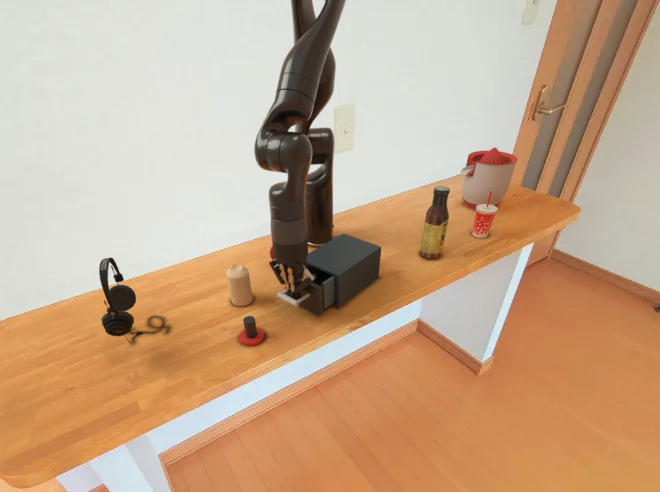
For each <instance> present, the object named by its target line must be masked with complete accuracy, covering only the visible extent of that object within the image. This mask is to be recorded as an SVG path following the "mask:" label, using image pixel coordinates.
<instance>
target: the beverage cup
mask: <svg viewBox="0 0 660 492" xmlns="http://www.w3.org/2000/svg"><path fill="white" fill-rule="evenodd" d="M491 194H492V191H490V195H489V199H488V202H487V204H479V205H477V206H476V210H475V215H474V221H473V226H472V227H473V228H472V233H471V234H472V236H473V237H475V238H479V239H485V238H487V237H488V236H489V233H490V230H491V227H492V225H493V221H494V219H495V216H496V213H498V210H499V208H498V207H496V206H493V205H490V204H489V201H490V198H491Z"/></svg>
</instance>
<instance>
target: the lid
mask: <svg viewBox="0 0 660 492" xmlns="http://www.w3.org/2000/svg"><path fill="white" fill-rule="evenodd" d="M242 321H243V322H242V323H243V328H244V329H243V330H242V331H241V332H240V333H239V342H240V343H241V344H242V345H244V346H247V347H248V346H249V347H250V346H251V347H253V346H257V345H259V344H260V343H262V342H263V341H264V339H265V332H264V330H263V329H262V328H260V327H258V326H257V323H256V317H254V316H252V315H246V316H245V317H244V318H243V319H242Z"/></svg>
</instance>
